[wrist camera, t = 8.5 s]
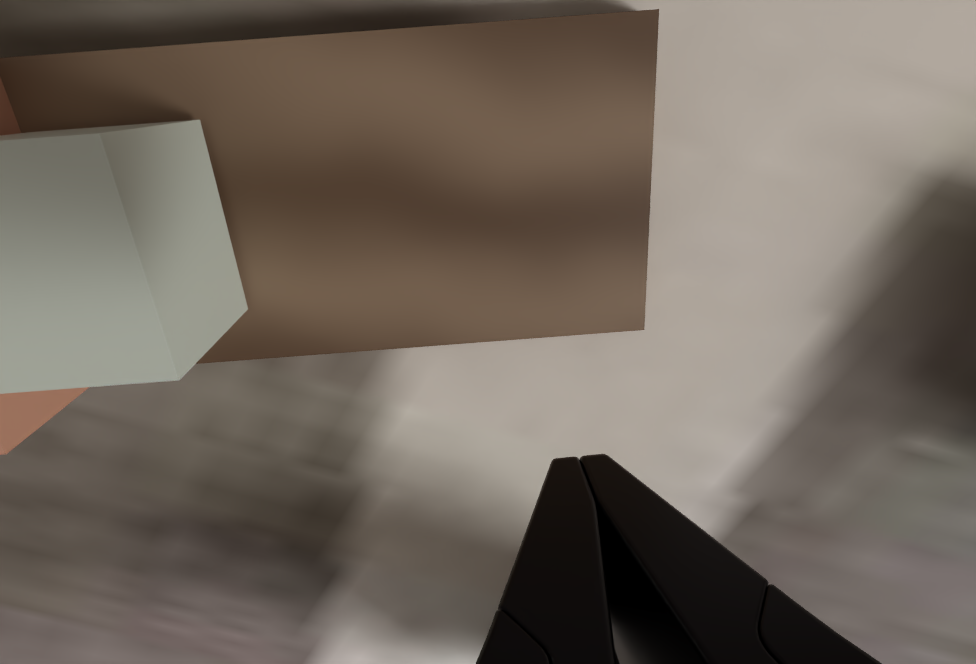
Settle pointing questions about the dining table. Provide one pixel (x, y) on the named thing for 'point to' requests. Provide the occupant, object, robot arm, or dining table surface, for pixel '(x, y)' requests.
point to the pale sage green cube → (111, 256)
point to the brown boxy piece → (394, 177)
